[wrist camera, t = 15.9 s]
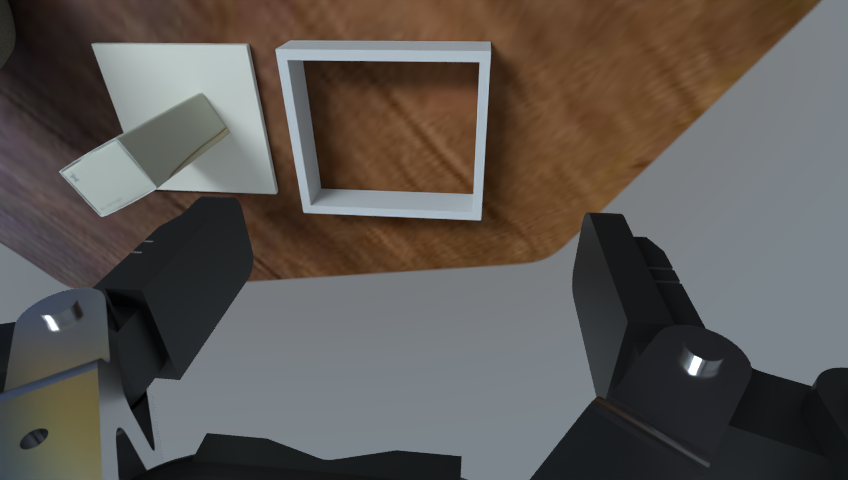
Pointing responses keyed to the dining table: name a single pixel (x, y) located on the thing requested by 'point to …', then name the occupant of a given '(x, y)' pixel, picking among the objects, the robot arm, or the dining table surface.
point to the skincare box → (145, 155)
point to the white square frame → (369, 200)
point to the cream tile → (183, 78)
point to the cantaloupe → (6, 32)
